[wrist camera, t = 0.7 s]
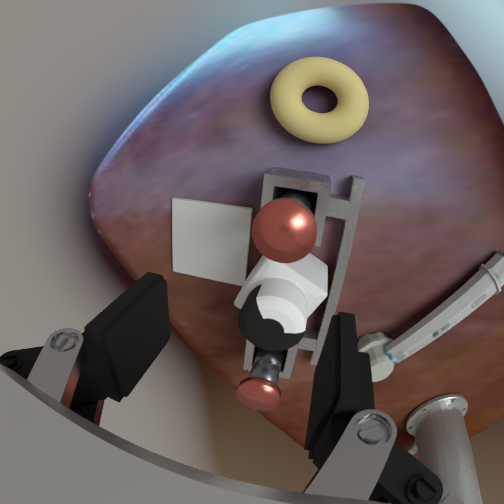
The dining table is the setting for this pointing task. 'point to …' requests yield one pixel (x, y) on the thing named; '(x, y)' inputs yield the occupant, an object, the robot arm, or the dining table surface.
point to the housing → (324, 207)
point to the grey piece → (434, 320)
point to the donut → (311, 123)
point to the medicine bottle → (280, 301)
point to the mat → (211, 240)
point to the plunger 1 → (262, 382)
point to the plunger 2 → (285, 228)
